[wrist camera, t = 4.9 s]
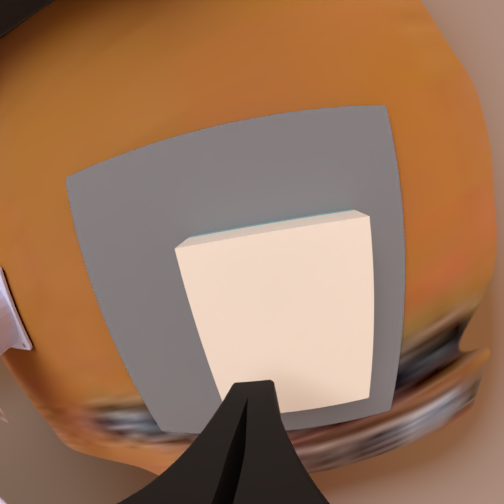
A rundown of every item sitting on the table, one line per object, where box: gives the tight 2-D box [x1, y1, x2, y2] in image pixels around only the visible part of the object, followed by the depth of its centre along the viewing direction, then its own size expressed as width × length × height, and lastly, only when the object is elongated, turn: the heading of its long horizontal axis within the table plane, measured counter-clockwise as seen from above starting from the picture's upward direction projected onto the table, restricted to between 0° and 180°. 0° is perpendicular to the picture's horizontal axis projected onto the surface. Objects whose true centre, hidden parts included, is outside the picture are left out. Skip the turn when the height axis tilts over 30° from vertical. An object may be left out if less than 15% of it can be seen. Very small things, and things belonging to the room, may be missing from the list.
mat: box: [65, 105, 405, 434], centre depth 15 cm, size 18×20×1 cm
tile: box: [175, 209, 374, 413], centre depth 13 cm, size 2×10×8 cm
